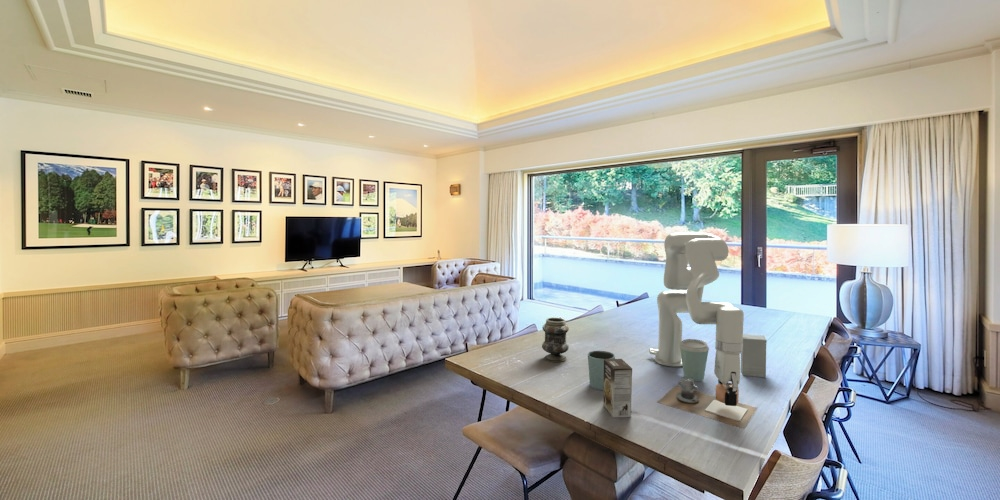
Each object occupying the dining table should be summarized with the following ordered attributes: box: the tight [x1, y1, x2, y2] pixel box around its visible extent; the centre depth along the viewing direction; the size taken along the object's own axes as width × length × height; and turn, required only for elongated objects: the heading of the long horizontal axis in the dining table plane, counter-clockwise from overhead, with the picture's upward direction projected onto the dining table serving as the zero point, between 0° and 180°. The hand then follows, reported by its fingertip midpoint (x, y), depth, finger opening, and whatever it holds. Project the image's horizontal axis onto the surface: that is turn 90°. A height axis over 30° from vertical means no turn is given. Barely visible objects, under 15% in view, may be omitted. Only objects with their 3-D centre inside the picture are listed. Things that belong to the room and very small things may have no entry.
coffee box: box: [602, 358, 633, 418], centre depth 132 cm, size 9×6×16 cm
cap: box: [715, 383, 740, 403], centre depth 129 cm, size 6×6×5 cm
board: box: [656, 385, 758, 430], centre depth 134 cm, size 26×18×1 cm
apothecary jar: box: [541, 317, 570, 363], centre depth 182 cm, size 12×12×18 cm
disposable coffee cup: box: [679, 338, 710, 382], centre depth 157 cm, size 11×11×15 cm
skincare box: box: [740, 333, 768, 378], centre depth 162 cm, size 8×7×16 cm
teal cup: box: [587, 350, 616, 391], centre depth 152 cm, size 10×10×12 cm
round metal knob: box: [676, 377, 699, 404], centre depth 138 cm, size 7×7×7 cm
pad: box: [705, 400, 748, 421], centre depth 130 cm, size 10×10×1 cm
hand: (726, 400), depth 130 cm, fingers closed on cap, 6 cm apart
